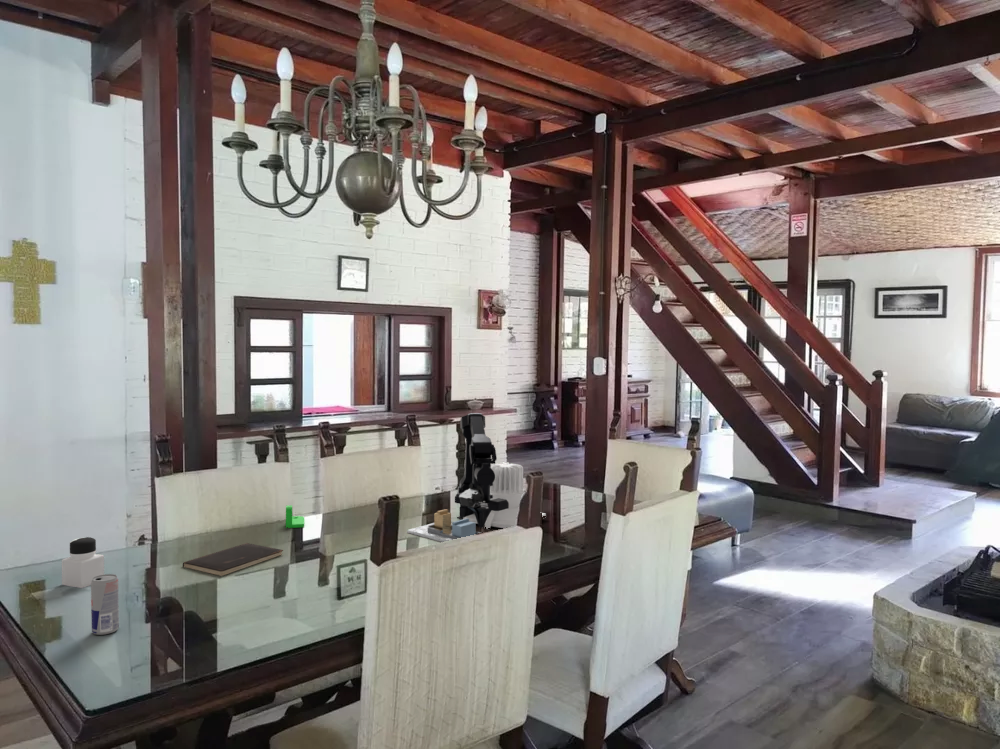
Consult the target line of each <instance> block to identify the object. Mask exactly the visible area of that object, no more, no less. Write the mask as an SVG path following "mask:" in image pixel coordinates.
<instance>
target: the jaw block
mask: <svg viewBox="0 0 1000 749" xmlns="http://www.w3.org/2000/svg"><path fill="white" fill-rule="evenodd" d="M433 516H434V517H433V519H434V520H433V523H434V528H436V529H440V530H443V533H445V532H448V531H451V525H452V513H451V512H449V509H448V508H447V509H445V508H444V509H441V510H437V511H436V512H435V513H434V515H433Z"/></svg>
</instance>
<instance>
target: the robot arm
mask: <svg viewBox="0 0 1000 749" xmlns="http://www.w3.org/2000/svg"><path fill="white" fill-rule="evenodd" d="M459 424H460V427H459V428H460V430H461V432H462V435H463V437H464V439H465V452H464V455H465V456H464V474H463V476H462V477H461V479H460V480H459V486H457V491H456V494H455V496H454V503H455V504H459V515H458V516H456V518H457V519H458V520H462V519H463V518H464V517H466V516H469V515H472V514H475V517H476V520H477V523H478V524H477V526H478V528H479V529H483V528H484V527H485V525H484V524H485V522H486V520H487V518H488V516H489V514H490V512H491V510H493V511H500V510H504V509H508V508H509V502H508V501H507V500H506V499H500V498H497V499H493V500H490V499H491V498H493V495H490V486H493V482H494V480H495V474H494V471H493V470H492V469H491V464H496V461H497V451H496V447H495V444H494V443H493V442H492V440H491V438H490V437H488V436H487V435H486V430H485V428H486V416H485V415H484V414H483V413H481V412H470V413H467V415H463V416H461V418H460V422H459ZM483 501H484V502H483Z"/></svg>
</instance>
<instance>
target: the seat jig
mask: <svg viewBox="0 0 1000 749" xmlns="http://www.w3.org/2000/svg"><path fill="white" fill-rule="evenodd" d="M406 533H407V534H410V535H415V536H418V537H422V538H426V539H429V540H433V541H437V542H439V543H443V542H444V541H449V540H453V539H457V538H461V537H458V536H454V535H452V524H451V531H448V532H445V533H443V530H440V529H436V528H434V522H432V523H429V524H425V525H420V526H417V527H413V528H409V529H407V530H406ZM478 533H481V532H480V531H476V533H475V534H478Z"/></svg>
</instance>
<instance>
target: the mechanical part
mask: <svg viewBox="0 0 1000 749" xmlns="http://www.w3.org/2000/svg"><path fill="white" fill-rule="evenodd" d="M287 527H288V528H287ZM291 528H293V529H294V528H305V516H302V515H301V516H300V515H297V516H296V515H295V516H294V515H293V505H286V506H285V529H291Z"/></svg>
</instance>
